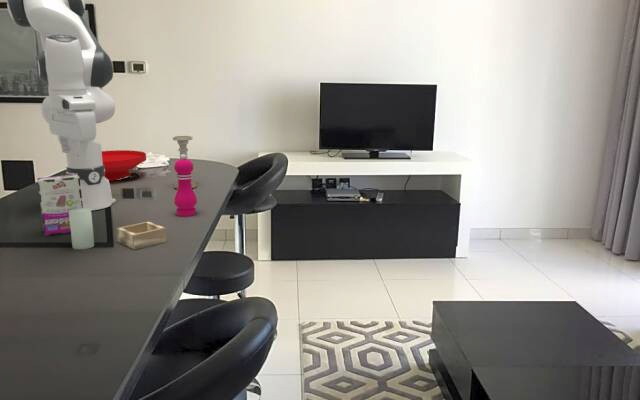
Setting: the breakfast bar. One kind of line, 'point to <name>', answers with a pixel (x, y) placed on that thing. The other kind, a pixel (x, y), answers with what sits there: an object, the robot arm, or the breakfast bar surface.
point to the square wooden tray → (141, 235)
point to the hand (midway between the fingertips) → (74, 154)
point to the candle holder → (183, 151)
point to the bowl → (121, 162)
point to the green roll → (81, 228)
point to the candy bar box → (58, 202)
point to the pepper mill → (184, 188)
